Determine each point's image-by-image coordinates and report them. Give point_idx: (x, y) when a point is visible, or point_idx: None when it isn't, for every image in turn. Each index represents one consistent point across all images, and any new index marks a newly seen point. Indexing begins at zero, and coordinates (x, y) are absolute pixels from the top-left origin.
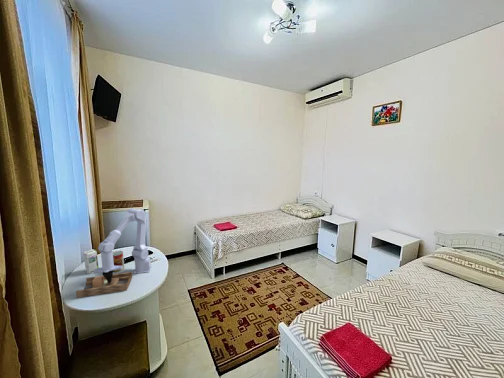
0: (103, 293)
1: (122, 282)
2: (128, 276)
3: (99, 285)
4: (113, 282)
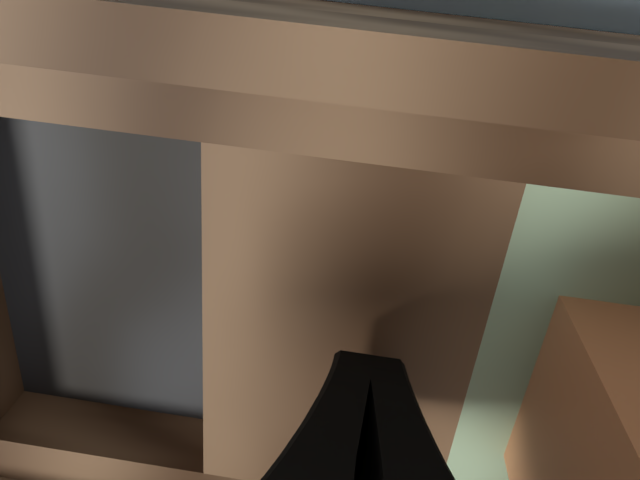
0: (493, 19)
1: (135, 345)
2: (17, 462)
3: (637, 332)
4: (286, 365)
